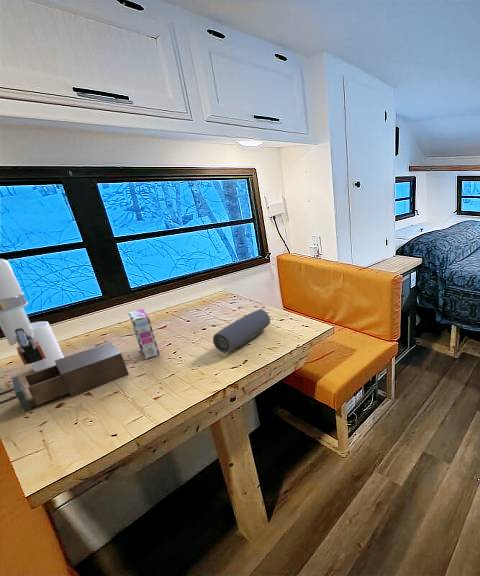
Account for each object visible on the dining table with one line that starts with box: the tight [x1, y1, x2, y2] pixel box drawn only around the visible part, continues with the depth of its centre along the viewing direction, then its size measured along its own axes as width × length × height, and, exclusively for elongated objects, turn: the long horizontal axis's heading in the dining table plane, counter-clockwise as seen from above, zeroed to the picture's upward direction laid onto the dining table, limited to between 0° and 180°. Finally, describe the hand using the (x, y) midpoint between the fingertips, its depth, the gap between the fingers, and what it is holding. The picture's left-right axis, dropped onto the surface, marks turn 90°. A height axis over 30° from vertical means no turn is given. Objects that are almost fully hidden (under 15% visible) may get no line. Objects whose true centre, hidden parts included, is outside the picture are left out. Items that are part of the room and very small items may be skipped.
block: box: [16, 341, 46, 366], centre depth 91 cm, size 4×4×4 cm
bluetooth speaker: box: [212, 309, 271, 354], centre depth 124 cm, size 23×9×10 cm, turn 161°
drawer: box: [0, 365, 70, 413], centre depth 93 cm, size 21×11×7 cm, turn 142°
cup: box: [30, 320, 65, 372], centre depth 110 cm, size 8×8×16 cm
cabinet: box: [55, 341, 130, 398], centre depth 103 cm, size 15×13×9 cm
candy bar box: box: [128, 308, 161, 360], centre depth 116 cm, size 11×5×16 cm, turn 45°
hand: (33, 358), depth 91 cm, fingers closed on block, 4 cm apart
